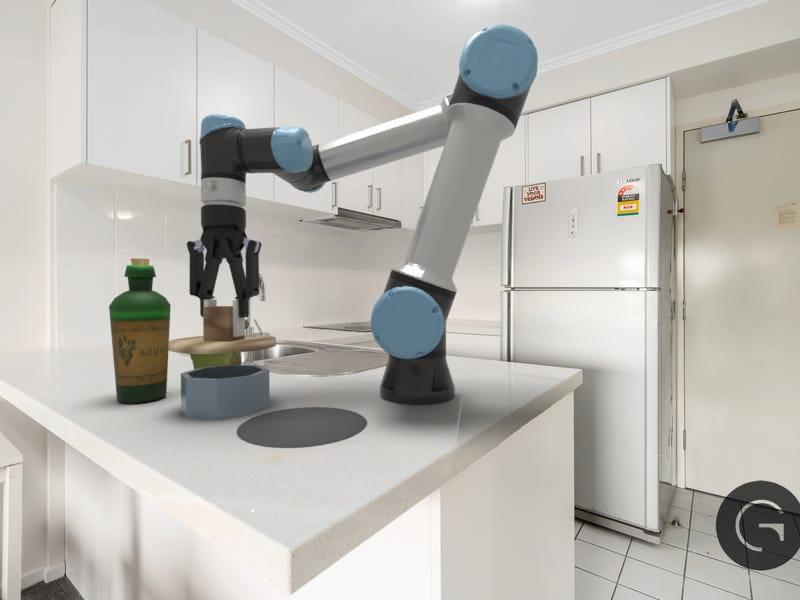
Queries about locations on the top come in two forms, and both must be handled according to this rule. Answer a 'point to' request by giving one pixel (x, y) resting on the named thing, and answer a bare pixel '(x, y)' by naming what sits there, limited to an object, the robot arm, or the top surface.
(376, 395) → the top surface
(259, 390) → the bowl
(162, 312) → the bottle
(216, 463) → the top surface
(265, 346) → the lid
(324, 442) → the mat
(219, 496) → the top surface
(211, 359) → the plant pot
